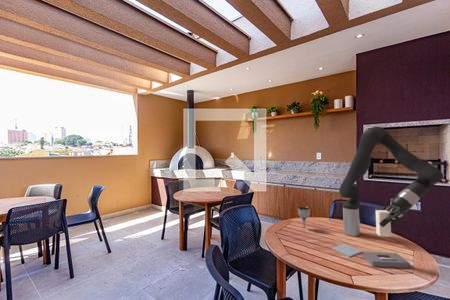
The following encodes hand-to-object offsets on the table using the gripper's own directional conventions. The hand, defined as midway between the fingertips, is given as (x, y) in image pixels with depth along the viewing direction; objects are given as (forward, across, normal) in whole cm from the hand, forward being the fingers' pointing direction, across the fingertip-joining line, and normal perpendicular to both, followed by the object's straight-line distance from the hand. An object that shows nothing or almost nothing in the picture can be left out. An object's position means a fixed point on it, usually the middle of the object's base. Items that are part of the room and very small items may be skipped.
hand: (378, 224), depth 109 cm
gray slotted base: (+12, 0, +15) cm, 19 cm away
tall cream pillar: (+2, 0, +5) cm, 6 cm away
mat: (+22, -11, +5) cm, 25 cm away
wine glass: (+34, -43, -6) cm, 55 cm away
